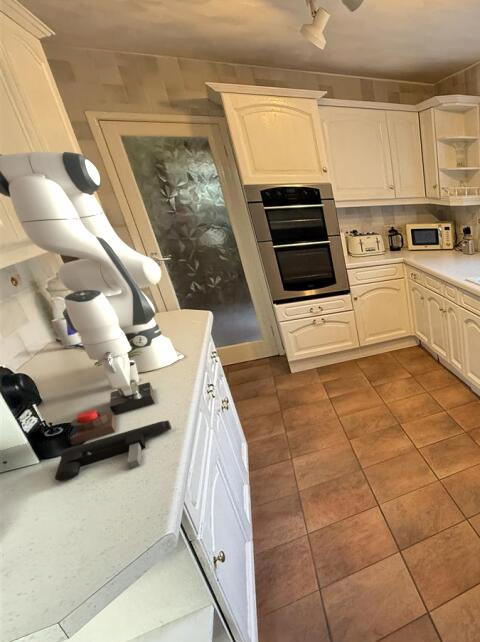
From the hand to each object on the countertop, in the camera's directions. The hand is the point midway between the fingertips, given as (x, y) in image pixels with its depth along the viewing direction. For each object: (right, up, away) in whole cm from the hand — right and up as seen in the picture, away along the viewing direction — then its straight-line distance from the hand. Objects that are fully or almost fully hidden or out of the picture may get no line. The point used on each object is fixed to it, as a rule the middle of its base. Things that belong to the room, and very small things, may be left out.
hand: (129, 390), depth 117 cm
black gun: (+20, -14, -23) cm, 33 cm away
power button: (+3, -6, -14) cm, 15 cm away
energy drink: (-71, +14, +49) cm, 87 cm away
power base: (+3, -9, -12) cm, 16 cm away
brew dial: (0, -1, 0) cm, 1 cm away
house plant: (-13, +1, +13) cm, 19 cm away
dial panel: (0, -4, +2) cm, 4 cm away
